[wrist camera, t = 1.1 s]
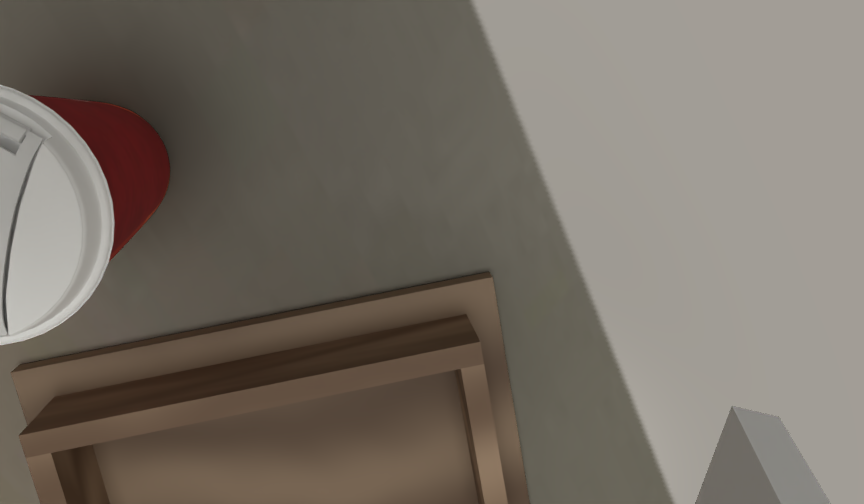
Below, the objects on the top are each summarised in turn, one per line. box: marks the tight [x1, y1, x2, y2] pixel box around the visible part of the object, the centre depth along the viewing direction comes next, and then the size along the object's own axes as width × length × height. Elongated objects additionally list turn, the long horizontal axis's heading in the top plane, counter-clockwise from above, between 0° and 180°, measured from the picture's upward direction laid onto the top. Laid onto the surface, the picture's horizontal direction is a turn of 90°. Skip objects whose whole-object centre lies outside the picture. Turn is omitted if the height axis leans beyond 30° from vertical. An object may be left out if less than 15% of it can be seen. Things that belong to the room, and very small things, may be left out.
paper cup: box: [0, 85, 170, 345], centre depth 28 cm, size 8×8×14 cm
